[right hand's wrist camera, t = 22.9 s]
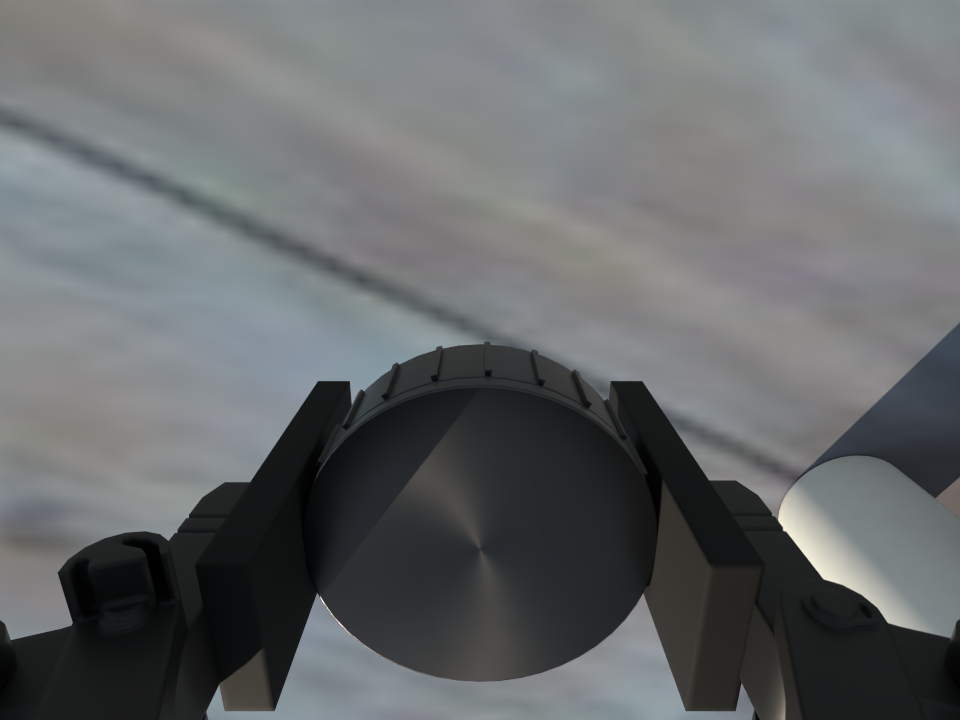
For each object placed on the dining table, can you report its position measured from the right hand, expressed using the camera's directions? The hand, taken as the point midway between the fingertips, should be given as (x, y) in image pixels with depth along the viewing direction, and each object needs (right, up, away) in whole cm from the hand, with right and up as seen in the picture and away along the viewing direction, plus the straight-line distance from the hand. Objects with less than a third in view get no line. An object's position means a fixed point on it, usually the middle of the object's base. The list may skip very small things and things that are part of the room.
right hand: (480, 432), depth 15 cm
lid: (0, -1, -4) cm, 4 cm away
